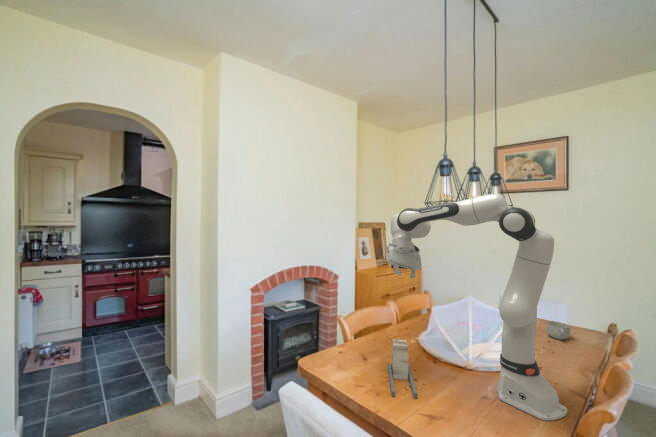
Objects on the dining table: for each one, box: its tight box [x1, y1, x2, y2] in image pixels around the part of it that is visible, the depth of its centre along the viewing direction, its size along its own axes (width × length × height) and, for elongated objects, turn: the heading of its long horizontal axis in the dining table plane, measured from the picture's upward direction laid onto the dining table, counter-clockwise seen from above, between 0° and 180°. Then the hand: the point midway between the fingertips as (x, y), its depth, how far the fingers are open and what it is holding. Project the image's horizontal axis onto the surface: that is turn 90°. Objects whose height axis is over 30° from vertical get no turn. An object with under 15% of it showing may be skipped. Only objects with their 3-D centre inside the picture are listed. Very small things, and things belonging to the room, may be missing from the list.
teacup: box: [546, 320, 572, 341], centre depth 176 cm, size 14×11×8 cm
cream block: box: [391, 338, 409, 381], centre depth 132 cm, size 6×6×14 cm
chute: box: [387, 363, 418, 400], centre depth 127 cm, size 22×10×3 cm, turn 173°
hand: (405, 276), depth 139 cm, fingers open, 8 cm apart
